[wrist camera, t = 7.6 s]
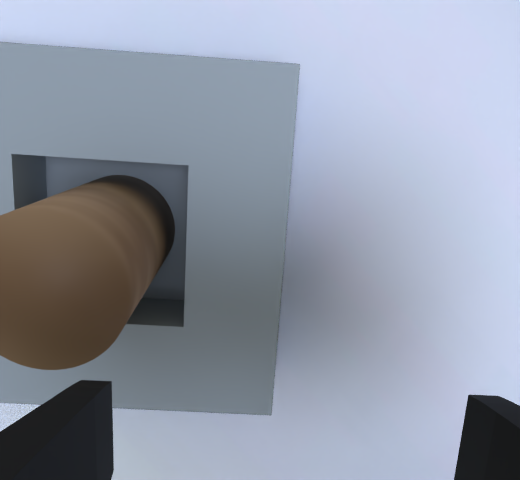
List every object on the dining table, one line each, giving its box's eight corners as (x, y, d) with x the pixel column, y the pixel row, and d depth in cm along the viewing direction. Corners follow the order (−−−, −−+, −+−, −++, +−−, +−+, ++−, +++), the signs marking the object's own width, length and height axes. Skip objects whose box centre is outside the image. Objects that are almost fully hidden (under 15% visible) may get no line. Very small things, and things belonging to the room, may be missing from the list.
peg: (177, 277, 18) (135, 368, 12) (73, 278, 18) (-30, 371, 11) (172, 174, 17) (123, 208, 11) (62, 175, 17) (-58, 209, 11)
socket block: (268, 373, 20) (271, 415, 17) (-21, 358, 20) (-69, 399, 17) (291, 74, 17) (300, 64, 14) (-46, 50, 17) (-108, 33, 14)
